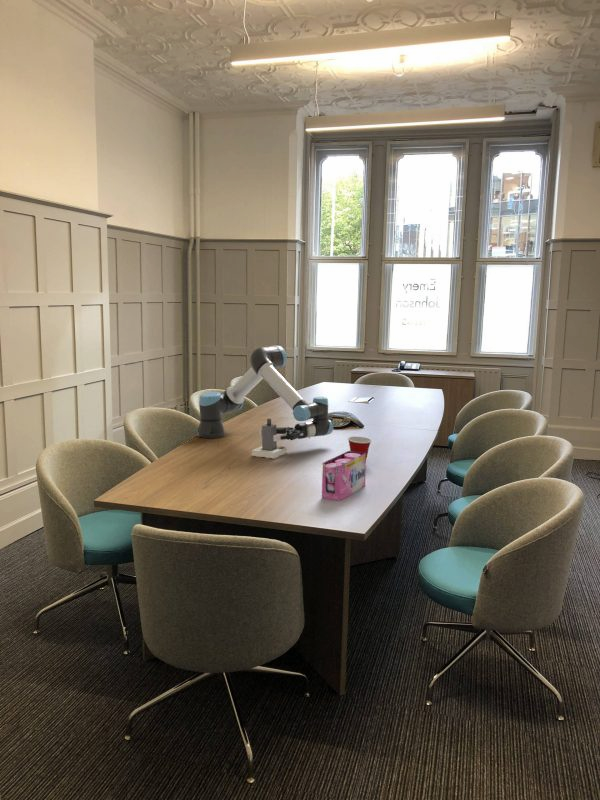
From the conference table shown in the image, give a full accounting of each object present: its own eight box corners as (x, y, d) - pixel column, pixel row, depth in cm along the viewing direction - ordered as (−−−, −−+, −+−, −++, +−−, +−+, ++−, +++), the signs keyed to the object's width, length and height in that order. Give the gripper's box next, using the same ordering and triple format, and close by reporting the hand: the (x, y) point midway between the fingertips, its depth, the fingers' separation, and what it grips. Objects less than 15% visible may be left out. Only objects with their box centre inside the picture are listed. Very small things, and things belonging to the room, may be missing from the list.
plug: (262, 454, 301) (261, 419, 298) (267, 452, 305) (267, 417, 302) (271, 455, 298) (271, 420, 296) (276, 453, 303) (276, 418, 300)
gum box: (338, 502, 232) (338, 466, 230) (319, 499, 236) (319, 463, 234) (365, 485, 252) (366, 452, 250) (348, 482, 256) (348, 450, 254)
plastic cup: (370, 468, 278) (370, 441, 276) (345, 467, 280) (346, 440, 278) (372, 461, 288) (372, 436, 286) (348, 460, 290) (349, 435, 288)
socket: (252, 456, 299) (252, 448, 299) (265, 450, 310) (264, 443, 309) (274, 459, 294) (274, 451, 293) (286, 453, 304) (286, 446, 304)
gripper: (318, 442, 301) (280, 448, 290) (291, 433, 322) (254, 438, 310) (318, 427, 300) (280, 432, 288) (291, 419, 320) (254, 423, 309)
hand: (266, 435), depth 299 cm, fingers open, 13 cm apart
